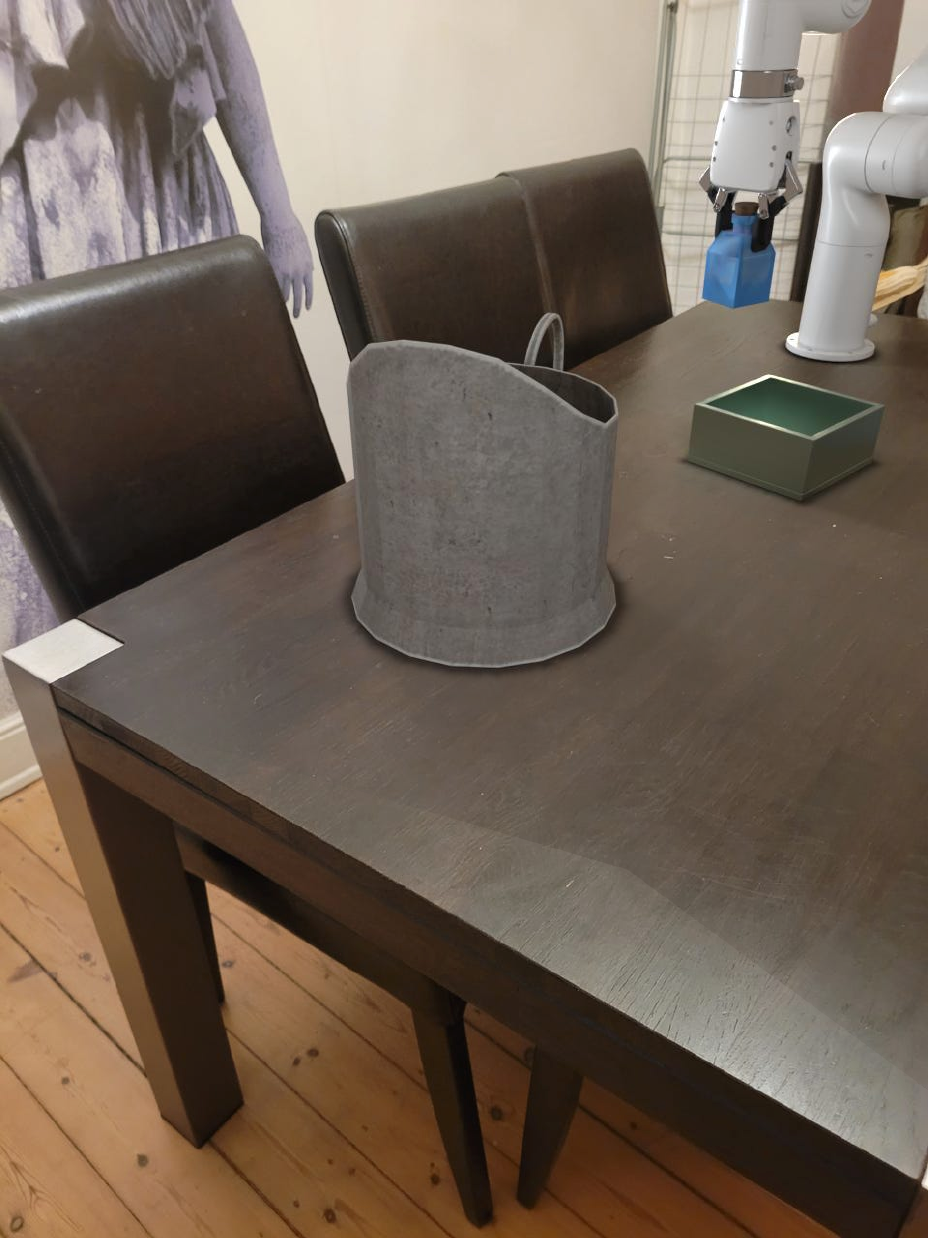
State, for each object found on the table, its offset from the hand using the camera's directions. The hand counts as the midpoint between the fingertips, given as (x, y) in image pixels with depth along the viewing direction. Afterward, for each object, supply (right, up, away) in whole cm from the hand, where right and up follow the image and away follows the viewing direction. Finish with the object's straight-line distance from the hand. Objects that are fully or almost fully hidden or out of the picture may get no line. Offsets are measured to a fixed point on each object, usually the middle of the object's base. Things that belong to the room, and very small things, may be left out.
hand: (741, 245), depth 121 cm
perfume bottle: (0, -6, +4) cm, 7 cm away
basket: (0, -31, -16) cm, 35 cm away
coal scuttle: (-33, -44, -35) cm, 65 cm away
